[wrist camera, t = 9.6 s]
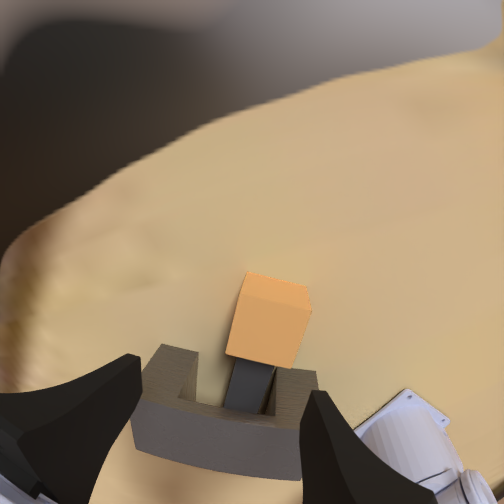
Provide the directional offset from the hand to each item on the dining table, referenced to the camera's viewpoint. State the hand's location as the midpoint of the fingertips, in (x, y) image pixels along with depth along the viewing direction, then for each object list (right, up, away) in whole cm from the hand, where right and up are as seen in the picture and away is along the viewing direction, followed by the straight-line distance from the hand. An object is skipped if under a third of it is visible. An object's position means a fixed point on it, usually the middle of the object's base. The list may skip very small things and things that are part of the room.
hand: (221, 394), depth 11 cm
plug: (+1, -4, +10) cm, 11 cm away
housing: (0, -5, +11) cm, 12 cm away
